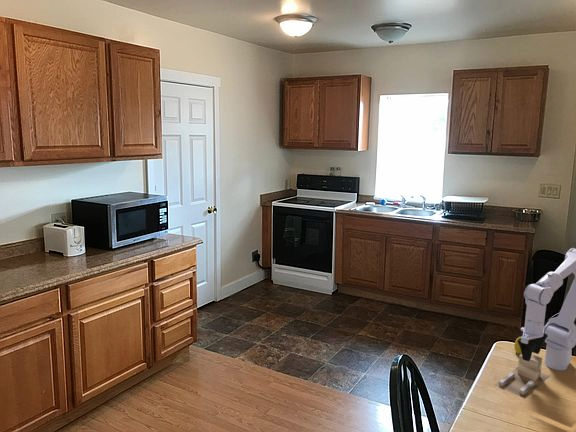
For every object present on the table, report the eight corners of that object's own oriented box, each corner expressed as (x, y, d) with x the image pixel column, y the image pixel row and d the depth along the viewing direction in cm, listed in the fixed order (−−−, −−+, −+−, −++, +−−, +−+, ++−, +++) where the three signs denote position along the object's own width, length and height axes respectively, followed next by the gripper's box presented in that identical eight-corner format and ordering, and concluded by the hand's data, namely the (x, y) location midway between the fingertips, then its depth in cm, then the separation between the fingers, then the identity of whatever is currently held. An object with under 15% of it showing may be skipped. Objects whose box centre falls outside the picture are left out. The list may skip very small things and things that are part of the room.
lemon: (531, 360, 177) (533, 340, 176) (515, 358, 178) (517, 339, 177) (527, 353, 183) (529, 333, 181) (511, 351, 184) (513, 332, 182)
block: (522, 369, 168) (524, 351, 167) (540, 376, 164) (542, 357, 162) (517, 373, 166) (519, 355, 164) (535, 380, 161) (537, 361, 160)
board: (520, 367, 172) (520, 361, 171) (549, 379, 165) (550, 371, 164) (494, 388, 159) (494, 380, 158) (524, 401, 152) (525, 393, 151)
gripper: (531, 310, 168) (527, 345, 171) (513, 321, 159) (509, 358, 162) (552, 316, 163) (548, 352, 166) (535, 328, 154) (531, 366, 156)
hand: (530, 356), depth 163 cm, fingers open, 7 cm apart
